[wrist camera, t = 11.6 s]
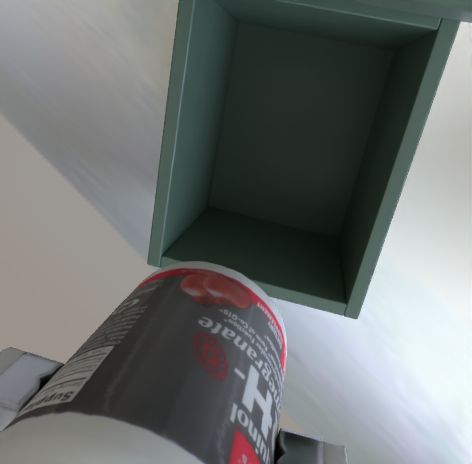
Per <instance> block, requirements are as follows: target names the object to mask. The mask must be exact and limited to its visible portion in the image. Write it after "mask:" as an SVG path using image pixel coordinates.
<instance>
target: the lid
mask: <svg viewBox="0 0 472 464" xmlns="http://www.w3.org/2000/svg"><path fill="white" fill-rule="evenodd" d="M343 1H349V2H355V3H360V4H366V5H372V6H377V7H383V8H389V9H394V10H400V11H406V12H411V13H417V14H423V15H429V16H434V17H440V18H446V19H451V20H457V21H463V22H469V23H472V0H343Z"/></svg>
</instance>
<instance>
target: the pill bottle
mask: <svg viewBox="0 0 472 464" xmlns="http://www.w3.org/2000/svg"><path fill="white" fill-rule="evenodd" d="M286 357H287V336H286V330H285V327H284V323H283V320H282V318H281V315H280V313H279V311H278V310H277V308H276V306H275V304H274V303H273V301H272V300H271V299H270V298H269V296H268V295H267V294H266V293H265V292H264V291H263V290H262V289H261V288H260V287H259V286H258V285H256V284H255V283H254V282H253V281H251V280H250V279H248V278H247V277H245V276H244V275H243V274H241V273H239V272H237V271H235V270H233V269H229V268H226V267H224V266H221V265H217V264H213V263H209V262H202V261H191V262H181V263H177V264H173V265H169V266H167V267H165V268H161V269H159V270H158V271H156V272H154V273H152V274H151V275H150V276H148V277H147V278H146V279H145V280H143V282H141V283H140V284H139V285H138V287H137V288H136V289H135V290H134V291H133V292H132V293H131V294H130V295H129V296H128V297H127V298H126V299H125V300H124V301H123V302H122V303H121V304H120V305H119V306H118V307H117V308H116V309H115V311H114V312H113V313H112V314H111V315H110V316H109V317H108V318H107V319H106V320H105V321H104V323H103V324H102V325H101V326H100V327H99V328H98V329H97V330H96V331H95V332H94V333H93V334H92V335H91V336H90V338H89V339H88V340H87V341H86V342H85V343H84V344H83V345H82V346H81V347H80V348H79V349H78V351H77V352H76V353H75V354H74V355H73V356H72V357H71V358H70V359H69V360H68V361H67V362H66V364H65V365H64V366H63V367H62V368H61V369H60V370H59V371H58V372H57V373H56V374H55V375H54V376H53V377H52V378H51V379H50V381H49V382H48V383H47V384H46V385H45V386H44V387H43V388H42V389H41V390H40V392H39V393H38V394H37V395H36V396H35V397H34V398H33V399H32V400H31V401H30V402H29V403H28V404H27V405H26V406H25V407H24V408H23V409H22V410H21V411H20V412H19V413H18V414H17V416H16V417H15V418H14V419H13V420H12V421H11V422H10V423H9V424H8V425H7V426H6V427H5V428H4V429H3V430H2V431H1V432H0V464H274V461H275V455H276V443H277V436H278V426H279V420H280V408H281V400H282V393H283V385H284V376H285V369H286Z"/></svg>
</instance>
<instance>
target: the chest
mask: <svg viewBox="0 0 472 464" xmlns="http://www.w3.org/2000/svg"><path fill="white" fill-rule="evenodd" d="M460 22H461V21H457V20H451V19H446V18H440V17H434V16H429V15H423V14H417V13H411V12H406V11H400V10H394V9H389V8H383V7H377V6H372V5H366V4H360V3H355V2H349V1H343V0H179V5H178V13H177V21H176V30H175V38H174V46H173V55H172V63H171V71H170V80H169V88H168V96H167V105H166V113H165V121H164V130H163V138H162V146H161V154H160V163H159V171H158V179H157V188H156V196H155V204H154V213H153V221H152V229H151V238H150V246H149V254H148V262H147V263H148V265H152V266H156V267H160V268H165V267H167V266H169V265H173V264H177V263H181V262H191V261H202V262H209V263H213V264H217V265H221V266H224V267H226V268H229V269H233V270H235V271H237V272H239V273H241V274H243V275H244V276H245V277H247V278H248V279H250V280H251V281H253V282H254V283H255V284H256V285H258V286H259V287H260V288H261V289H262V290H263V291H264V292H265V293H266V294H267V295H268V296H270V297H274V298H277V299H281V300H285V301H289V302H293V303H296V304H300V305H304V306H308V307H312V308H316V309H319V310H323V311H327V312H331V313H335V314H338V315H343V314H344V316H345V317H349V318H353V319H358V316H359V313H360V310H361V307H362V304H363V302H364V299H365V296H366V293H367V290H368V287H369V284H370V281H371V279H372V276H373V273H374V270H375V267H376V264H377V261H378V258H379V255H380V253H381V250H382V247H383V244H384V241H385V238H386V235H387V232H388V229H389V227H390V224H391V221H392V218H393V215H394V212H395V209H396V206H397V204H398V201H399V198H400V195H401V192H402V189H403V186H404V183H405V180H406V178H407V175H408V172H409V169H410V166H411V163H412V160H413V157H414V155H415V152H416V149H417V146H418V143H419V140H420V137H421V134H422V131H423V129H424V126H425V123H426V120H427V117H428V114H429V111H430V108H431V105H432V103H433V100H434V97H435V94H436V91H437V88H438V85H439V82H440V80H441V77H442V74H443V71H444V68H445V65H446V62H447V59H448V56H449V54H450V51H451V48H452V45H453V42H454V39H455V36H456V33H457V30H458V28H459V25H460Z"/></svg>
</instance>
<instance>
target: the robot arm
mask: <svg viewBox="0 0 472 464" xmlns="http://www.w3.org/2000/svg"><path fill="white" fill-rule="evenodd" d="M64 365H65V364H63V363H59V362H57V361H54V360H50V359H47V358H44V357H41V356H38V355H35V354H32V353H28V352H25V351H22V350H19V349H16V348H12V347H9V348H6V349H4V350H2V351H1V352H0V432H1V431H2V430H3V429H4V428H5V427H6V426H7V425H8V424H9V423H10V422H11V421H12V420H13V419H14V418H15V417H16V416H17V414H18V413H19V412H20V411H21V410H22V409H23V408H24V407H25V406H26V405H27V404H28V403H29V402H30V401H31V400H32V399H33V398H34V397H35V396H36V395H37V394H38V393H39V392H40V390H41V389H42V388H43V387H44V386H45V385H46V384H47V383H48V382H49V381H50V379H51V378H52V377H53V376H54V375H55V374H56V373H57V372H58V371H59V370H60V369H61V368H62V367H63V366H64ZM274 464H347V452H346V449H345V447H344V446H342V445H339V444H335V443H332V442H328V441H324V440H321V439H317V438H314V437H310V436H307V435H303V434H300V433H296V432H293V431H289V430H286V429H282V428H280V430H279V433H278V436H277V443H276V455H275V461H274Z"/></svg>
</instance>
